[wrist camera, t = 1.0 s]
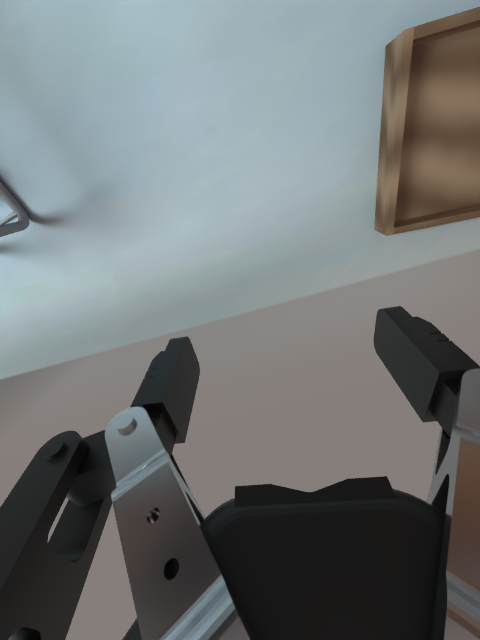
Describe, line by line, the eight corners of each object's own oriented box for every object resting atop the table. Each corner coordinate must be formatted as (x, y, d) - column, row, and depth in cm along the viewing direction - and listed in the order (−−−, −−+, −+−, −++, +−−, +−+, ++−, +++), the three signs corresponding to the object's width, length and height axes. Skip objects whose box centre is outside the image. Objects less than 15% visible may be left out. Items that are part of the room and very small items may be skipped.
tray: (385, 46, 25) (404, 29, 22) (598, -19, 22) (652, -47, 19) (374, 229, 34) (386, 235, 31) (523, 198, 31) (551, 202, 29)
